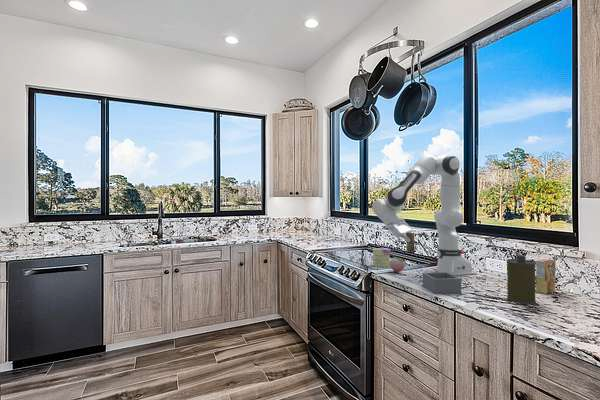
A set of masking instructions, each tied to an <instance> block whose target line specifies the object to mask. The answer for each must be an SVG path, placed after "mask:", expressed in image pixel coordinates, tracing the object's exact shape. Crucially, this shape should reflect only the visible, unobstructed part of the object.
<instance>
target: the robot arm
mask: <svg viewBox="0 0 600 400" xmlns="http://www.w3.org/2000/svg"><path fill="white" fill-rule="evenodd" d="M459 169H460V160H459V158H458V157H457V156H455V155H450V154H449V155H440V156H434V155H432V154H425V155H423V156H422V157H420V158H419V159H418V160H417V161H416V162H415V163H414V164H413V166H412V167H411V168H410V170H409V172H408V174H407V175H406V176H405V177H404V179H403V180H402V181H401V182H400V183H399V184H398V185H397V186H395V187H393V188H391V189H390V190H389V191H388V192H387V196H386V197H384V198H377V199H376V200H375V201H374V202H373V203H372V205H371V210H372V211H373V213H374V214H375V216H376V217H377V218H378V219H380V220H381V221H382V222H383V224H384V226H386V227H387V229H389V231H390V233H391V234H392V235H393V236H394V237H395V238H396V239H398V238H402V239H404V240H405V241H406V243H407V242H410V241H411V239H410V238H408V237H407V233H413V229H412V228H411V226H410V225H409V224H408V222H406V221H405V219H404V218H403V217H402V216H400V215H398V213H399V212H401V211H402V210H403V209H404V206H405V202H406V200H407V198H408V197H407V196H408V193H409V192H410V191H411V190H412V188H413V187H414V185H421V184H423V183H425V182H426V181H427V180H428V178H429V177H430V176H431V175H433V176H435V175H440V176H441V183H440V194H439V201H440V203H441V204H440V205H441V209H439V210H437V211H435V213H434V216H433V218H434V221H435V224H436V230H437V237H438V241H437V242H438V244H437V245H438V248H437V264H436V265H437V266H436V269H435V272H436V273H437V272H448V273H450V274H452V275H454V276H466V275H476V274H478V273H477V271H476V270H475V269H473V265H472V263H471V262H470V260H468V259H466V258H465V257H464V256H462V255H464V254H465V252H466V251H465V250H462V249H461V250H460V249H459V236H458V233H457V230H456V227H459V226H461V225H462V224H463V222H464V215H463V213H462V209H461V201H460V200H461V199H460V198H461V186H462V183H461V182H462V178H461V172H460V171H459Z"/></svg>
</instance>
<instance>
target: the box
mask: <svg viewBox="0 0 600 400" xmlns="http://www.w3.org/2000/svg"><path fill="white" fill-rule="evenodd" d="M390 257H391V256H390V249H389V247H388V248H386V247H384V248H382V247H379V248H378V247H377V248H375V247H373V248H372V266H373V267H375V268H376V267H379V268H380V267H382V268H385V267H386V268H391V267H390V261H391V259H390Z"/></svg>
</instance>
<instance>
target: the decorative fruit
mask: <svg viewBox="0 0 600 400" xmlns="http://www.w3.org/2000/svg"><path fill="white" fill-rule="evenodd" d="M405 266H406V262H405V260H404V259H402V258H401V257H397V256H394V257H391V259H390V267H389V268H390V269H391V270H393V272H396V273H399V272H401V271H403V270H404V269H405V268H406V267H405Z"/></svg>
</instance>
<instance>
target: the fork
mask: <svg viewBox="0 0 600 400" xmlns="http://www.w3.org/2000/svg"><path fill="white" fill-rule="evenodd" d="M404 262H405V264H407V265H408V264H409V265H414V266H416V265H418V264H416V263H414V262H413V263H412V262H410V261H409V260H408V259H407V260H404ZM424 267H425V266H424ZM424 269H427V267H425V268H424Z"/></svg>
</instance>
